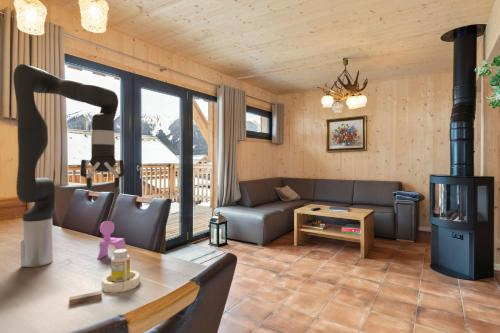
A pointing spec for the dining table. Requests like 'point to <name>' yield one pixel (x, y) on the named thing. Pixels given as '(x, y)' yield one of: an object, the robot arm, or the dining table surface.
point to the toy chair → (109, 239)
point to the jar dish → (120, 283)
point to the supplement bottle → (120, 266)
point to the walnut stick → (85, 298)
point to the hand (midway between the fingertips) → (103, 188)
